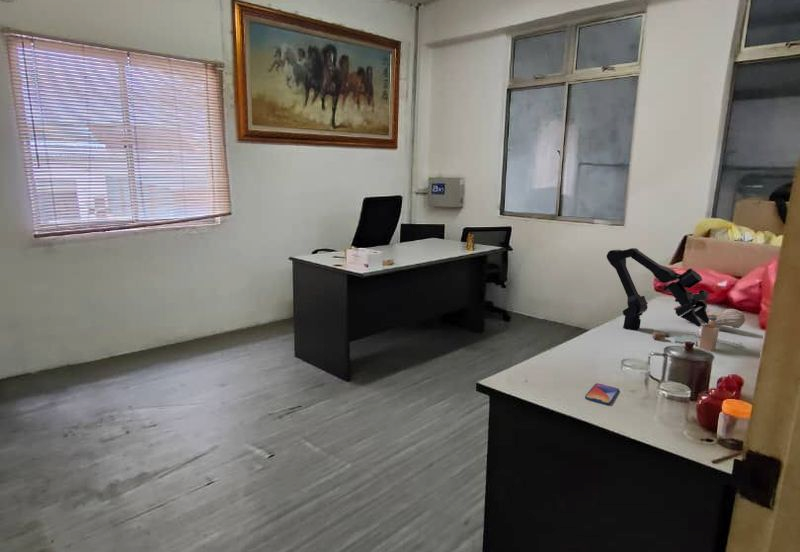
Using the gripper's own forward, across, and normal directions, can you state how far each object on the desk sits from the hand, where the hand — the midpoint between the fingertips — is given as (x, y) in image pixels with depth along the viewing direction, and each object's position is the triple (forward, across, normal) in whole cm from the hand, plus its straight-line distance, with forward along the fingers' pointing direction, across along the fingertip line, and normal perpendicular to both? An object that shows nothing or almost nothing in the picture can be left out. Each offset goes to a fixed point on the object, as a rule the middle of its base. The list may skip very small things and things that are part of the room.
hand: (704, 324), depth 207 cm
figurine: (-1, +39, +16) cm, 42 cm away
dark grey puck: (-5, +2, +19) cm, 20 cm away
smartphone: (+10, -84, +5) cm, 85 cm away
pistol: (+7, +21, +8) cm, 23 cm away
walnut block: (-4, -6, +18) cm, 19 cm away
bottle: (+9, 0, +5) cm, 10 cm away
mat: (+2, +1, +12) cm, 12 cm away
